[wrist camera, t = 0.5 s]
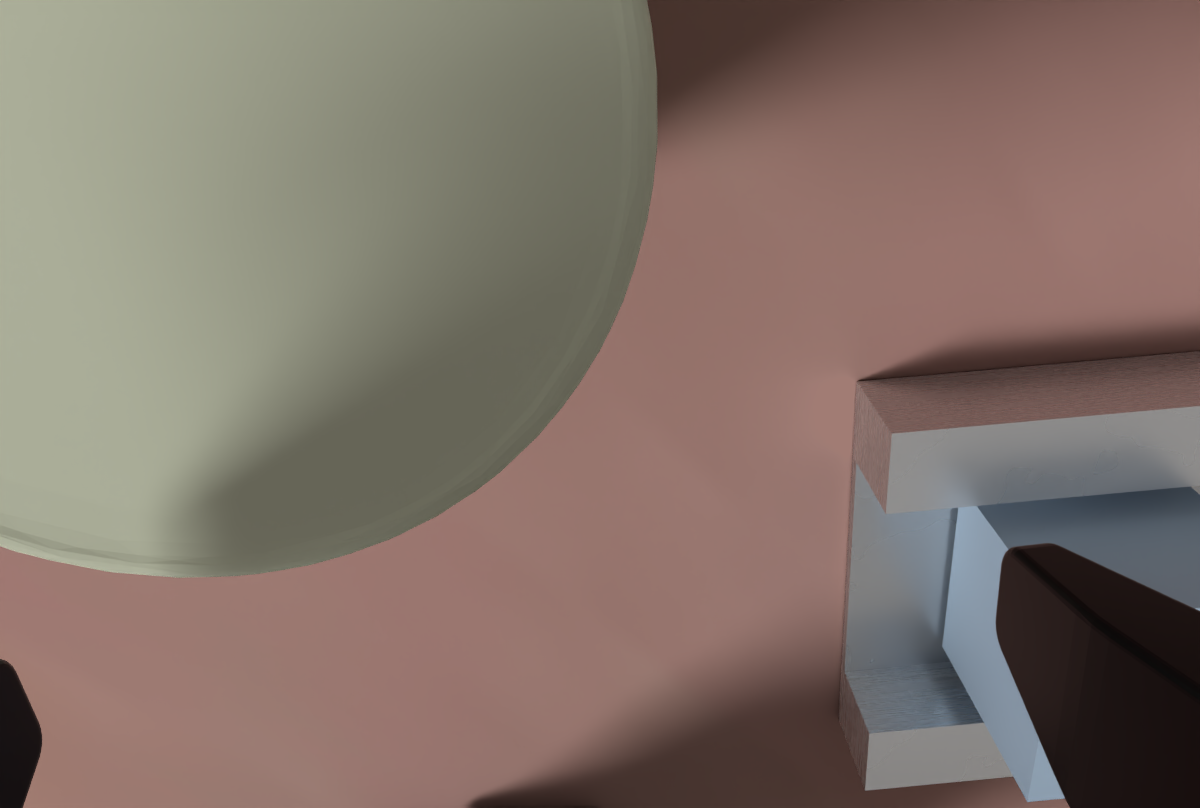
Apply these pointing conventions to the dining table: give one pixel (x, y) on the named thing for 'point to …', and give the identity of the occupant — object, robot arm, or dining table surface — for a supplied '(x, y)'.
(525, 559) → the dining table surface
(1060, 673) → the robot arm
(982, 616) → the block
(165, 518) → the can
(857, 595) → the chute
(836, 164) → the dining table surface
